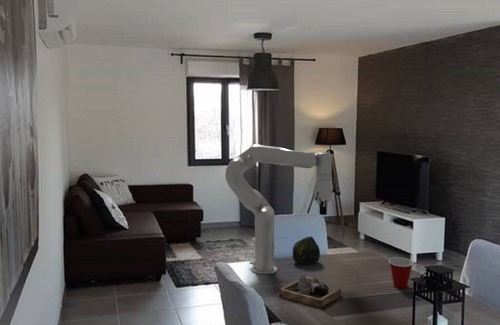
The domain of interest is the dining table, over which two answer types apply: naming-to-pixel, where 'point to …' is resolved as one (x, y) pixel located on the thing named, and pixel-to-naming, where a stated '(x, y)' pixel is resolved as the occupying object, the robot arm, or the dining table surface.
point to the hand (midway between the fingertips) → (323, 214)
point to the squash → (306, 251)
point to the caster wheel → (312, 285)
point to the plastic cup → (400, 271)
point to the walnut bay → (321, 302)
